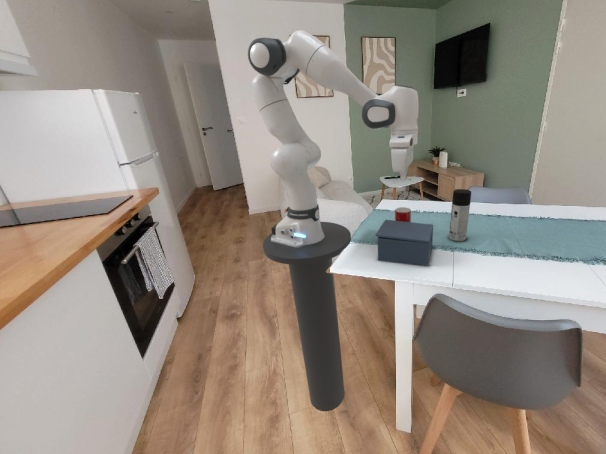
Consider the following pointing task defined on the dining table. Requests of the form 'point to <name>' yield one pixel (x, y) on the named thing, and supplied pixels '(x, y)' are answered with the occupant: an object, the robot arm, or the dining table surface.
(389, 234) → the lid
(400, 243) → the dark blue box
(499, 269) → the dining table surface
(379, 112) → the robot arm
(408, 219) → the can
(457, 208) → the spray can
